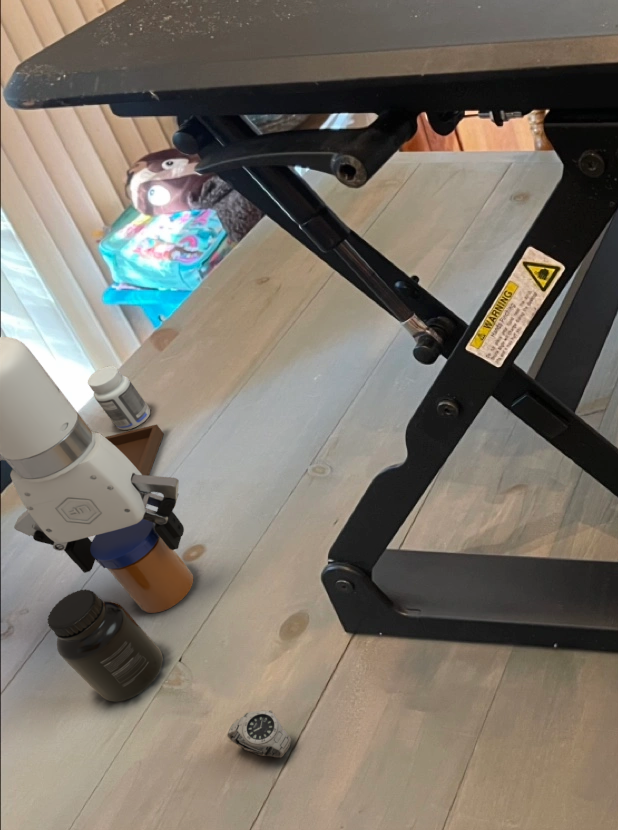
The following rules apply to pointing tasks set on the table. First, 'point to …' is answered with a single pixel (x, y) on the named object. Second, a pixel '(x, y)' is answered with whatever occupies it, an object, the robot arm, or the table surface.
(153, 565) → the jam jar
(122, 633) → the supplement bottle
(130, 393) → the pill bottle
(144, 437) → the walnut tray
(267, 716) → the wristwatch
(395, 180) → the table surface
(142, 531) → the jar lid
